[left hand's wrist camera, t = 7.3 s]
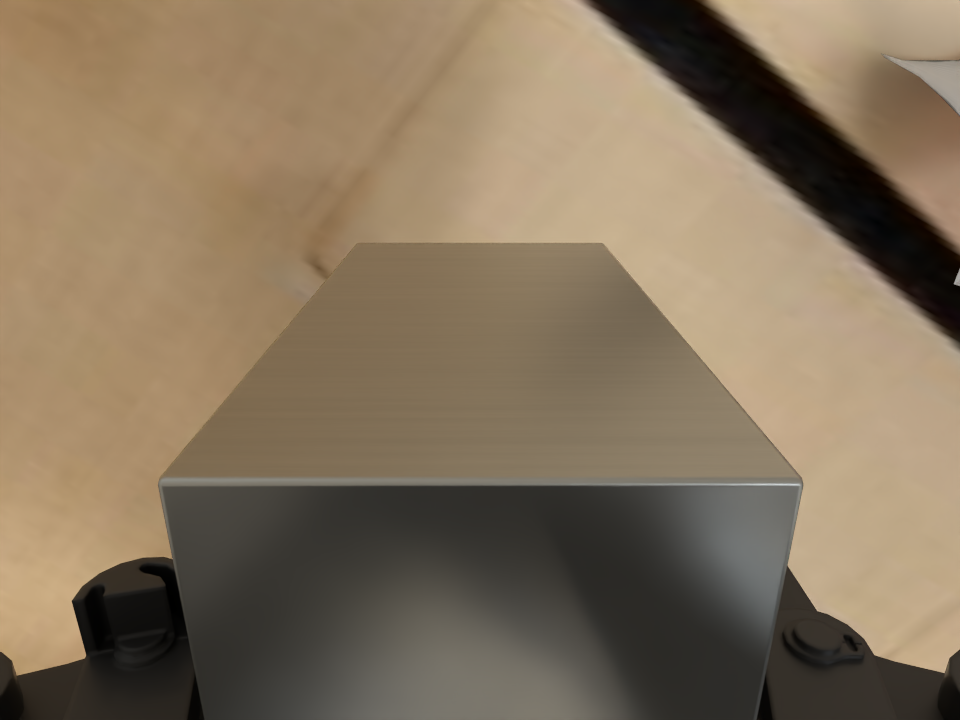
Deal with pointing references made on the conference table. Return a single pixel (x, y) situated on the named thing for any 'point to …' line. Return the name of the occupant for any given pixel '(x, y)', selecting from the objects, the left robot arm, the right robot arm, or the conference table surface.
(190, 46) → the conference table surface
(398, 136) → the conference table surface
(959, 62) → the fish
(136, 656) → the left robot arm
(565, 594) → the bar
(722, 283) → the conference table surface
